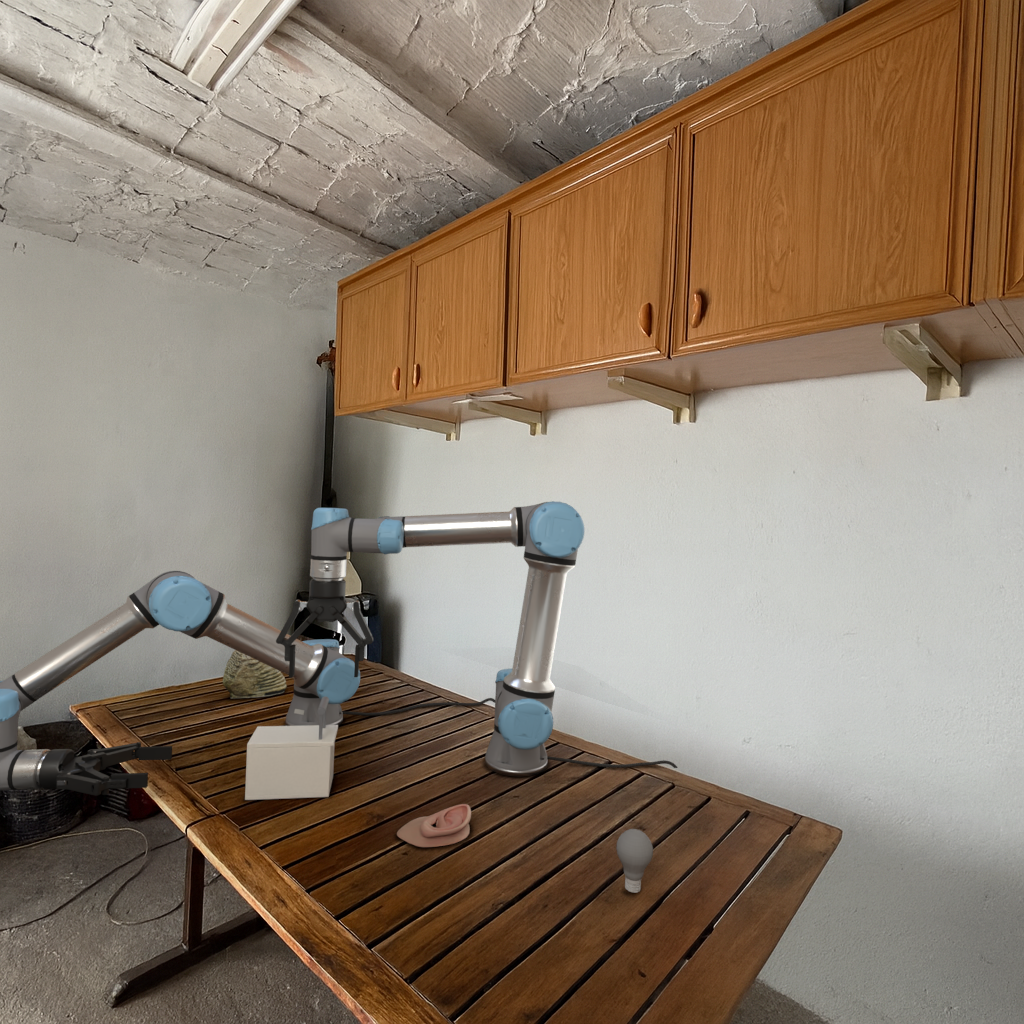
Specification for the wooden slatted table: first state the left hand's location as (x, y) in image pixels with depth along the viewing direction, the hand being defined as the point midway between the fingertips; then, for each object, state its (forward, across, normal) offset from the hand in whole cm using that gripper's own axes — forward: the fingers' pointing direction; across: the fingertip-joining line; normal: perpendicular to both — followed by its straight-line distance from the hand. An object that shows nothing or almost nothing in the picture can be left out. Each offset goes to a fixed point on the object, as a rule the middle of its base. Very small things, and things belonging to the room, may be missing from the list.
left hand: (160, 765), depth 132 cm
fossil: (+5, -66, -6) cm, 66 cm away
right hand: (+32, 0, +19) cm, 37 cm away
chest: (+26, 0, -6) cm, 27 cm away
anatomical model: (+56, +22, -6) cm, 60 cm away
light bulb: (+88, +43, -6) cm, 98 cm away
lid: (+27, 0, +5) cm, 27 cm away
